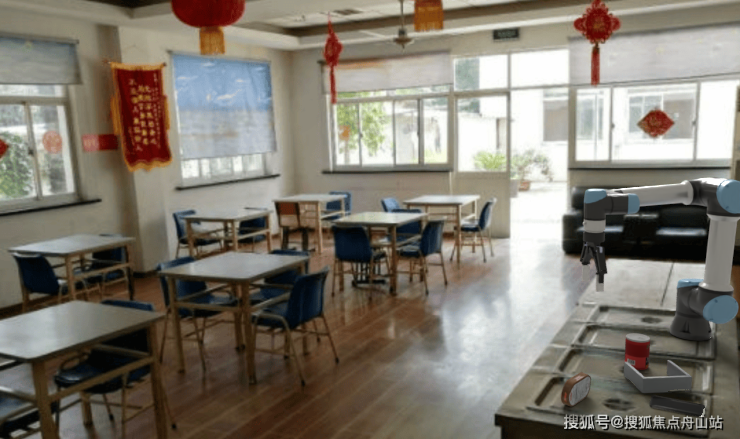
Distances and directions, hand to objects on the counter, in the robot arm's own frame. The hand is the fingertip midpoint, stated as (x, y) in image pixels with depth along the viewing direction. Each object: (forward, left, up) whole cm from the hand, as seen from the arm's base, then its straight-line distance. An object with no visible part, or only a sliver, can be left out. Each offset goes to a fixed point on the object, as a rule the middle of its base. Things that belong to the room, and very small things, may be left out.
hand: (592, 286), depth 223 cm
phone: (-9, +46, -26) cm, 54 cm away
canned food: (-11, +15, -26) cm, 32 cm away
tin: (+20, +40, -26) cm, 52 cm away
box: (-11, +29, -26) cm, 40 cm away
